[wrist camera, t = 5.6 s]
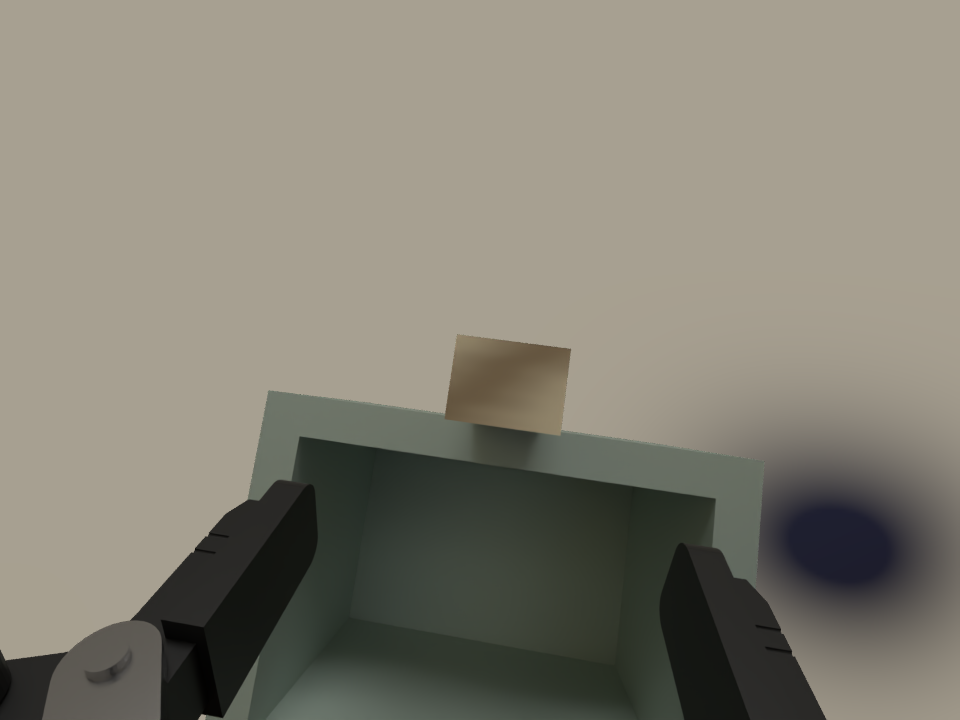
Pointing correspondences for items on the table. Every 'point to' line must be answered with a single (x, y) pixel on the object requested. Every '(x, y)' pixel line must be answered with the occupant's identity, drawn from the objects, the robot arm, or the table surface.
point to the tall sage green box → (484, 566)
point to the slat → (508, 384)
